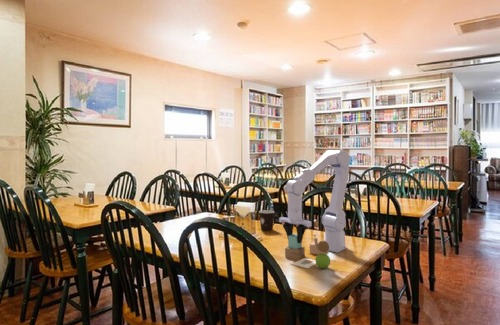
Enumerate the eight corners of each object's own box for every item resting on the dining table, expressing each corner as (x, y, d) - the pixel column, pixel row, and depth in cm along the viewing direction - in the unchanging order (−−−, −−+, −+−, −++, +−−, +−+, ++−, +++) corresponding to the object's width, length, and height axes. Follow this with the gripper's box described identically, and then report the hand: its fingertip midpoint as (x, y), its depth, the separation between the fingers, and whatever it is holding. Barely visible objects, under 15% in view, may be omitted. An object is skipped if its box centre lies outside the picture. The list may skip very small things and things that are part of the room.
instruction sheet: (304, 258, 139) (304, 257, 139) (319, 262, 134) (319, 261, 134) (292, 264, 132) (292, 263, 132) (308, 268, 127) (308, 267, 127)
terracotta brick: (312, 250, 149) (312, 241, 149) (321, 251, 148) (321, 242, 148) (309, 253, 146) (309, 244, 146) (318, 254, 144) (318, 245, 144)
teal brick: (293, 245, 144) (293, 233, 144) (301, 247, 142) (301, 235, 142) (288, 247, 141) (288, 235, 141) (296, 249, 139) (296, 237, 139)
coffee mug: (256, 228, 191) (256, 210, 191) (271, 227, 194) (271, 209, 193) (263, 233, 180) (263, 214, 180) (279, 232, 183) (278, 213, 182)
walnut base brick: (291, 253, 146) (291, 244, 146) (304, 256, 143) (304, 246, 142) (285, 257, 141) (285, 248, 141) (298, 260, 138) (298, 250, 137)
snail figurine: (317, 263, 132) (317, 233, 132) (332, 267, 128) (332, 235, 128) (310, 267, 128) (310, 236, 128) (326, 271, 124) (326, 238, 124)
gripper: (274, 208, 142) (275, 240, 143) (305, 212, 133) (305, 246, 134) (284, 206, 148) (284, 237, 148) (314, 209, 139) (314, 242, 139)
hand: (294, 241), depth 141 cm, fingers closed on teal brick, 4 cm apart
